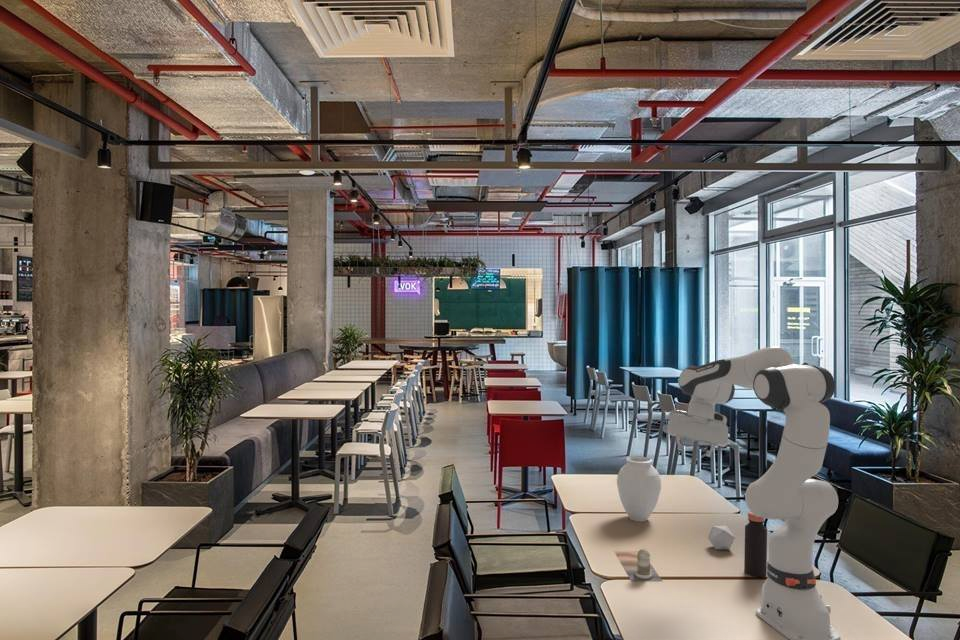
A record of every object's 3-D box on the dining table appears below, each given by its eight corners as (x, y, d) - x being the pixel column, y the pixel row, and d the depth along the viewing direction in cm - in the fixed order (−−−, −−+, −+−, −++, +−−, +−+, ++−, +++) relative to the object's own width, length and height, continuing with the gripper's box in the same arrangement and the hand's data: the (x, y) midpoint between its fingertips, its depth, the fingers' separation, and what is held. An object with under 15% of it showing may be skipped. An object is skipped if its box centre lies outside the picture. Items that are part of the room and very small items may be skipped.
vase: (643, 509, 268) (644, 452, 268) (669, 523, 252) (670, 462, 251) (608, 514, 262) (608, 455, 261) (633, 528, 245) (633, 465, 245)
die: (731, 556, 220) (741, 532, 223) (709, 543, 221) (720, 519, 224) (722, 555, 228) (732, 532, 230) (700, 542, 229) (711, 519, 232)
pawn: (654, 579, 199) (654, 552, 199) (637, 579, 199) (637, 552, 199) (649, 572, 204) (649, 546, 204) (632, 572, 204) (633, 545, 204)
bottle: (739, 570, 207) (740, 510, 206) (755, 567, 209) (756, 508, 209) (755, 578, 201) (756, 517, 200) (771, 575, 203) (772, 515, 203)
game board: (662, 582, 198) (662, 581, 198) (631, 582, 198) (631, 581, 198) (642, 552, 222) (642, 551, 222) (614, 552, 222) (614, 551, 222)
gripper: (670, 406, 219) (663, 444, 215) (731, 418, 212) (725, 458, 207) (670, 410, 224) (663, 447, 220) (730, 423, 217) (723, 461, 213)
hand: (693, 452), depth 214 cm, fingers open, 8 cm apart
